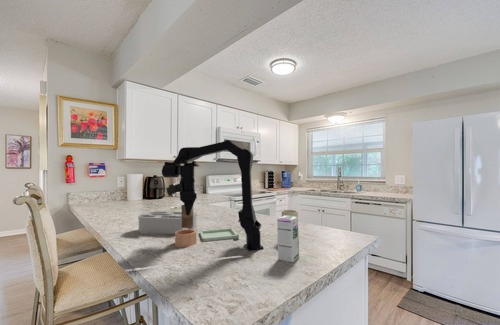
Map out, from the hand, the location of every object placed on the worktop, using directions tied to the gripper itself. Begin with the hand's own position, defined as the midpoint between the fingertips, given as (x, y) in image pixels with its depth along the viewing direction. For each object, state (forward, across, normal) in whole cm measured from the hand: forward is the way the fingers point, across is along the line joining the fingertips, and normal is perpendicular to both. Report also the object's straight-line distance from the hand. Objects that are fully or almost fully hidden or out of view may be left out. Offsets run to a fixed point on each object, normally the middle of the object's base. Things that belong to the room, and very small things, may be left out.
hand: (187, 214), depth 97 cm
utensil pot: (+13, 0, -1) cm, 13 cm away
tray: (+13, -7, +14) cm, 20 cm away
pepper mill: (+5, 0, 0) cm, 5 cm away
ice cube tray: (+13, -28, -10) cm, 32 cm away
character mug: (+13, +9, +43) cm, 46 cm away
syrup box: (+13, +27, +33) cm, 45 cm away
